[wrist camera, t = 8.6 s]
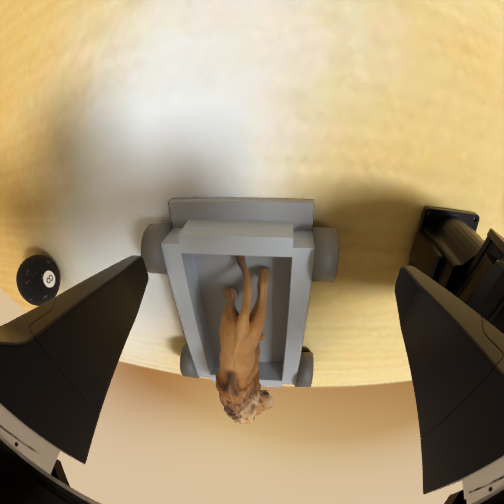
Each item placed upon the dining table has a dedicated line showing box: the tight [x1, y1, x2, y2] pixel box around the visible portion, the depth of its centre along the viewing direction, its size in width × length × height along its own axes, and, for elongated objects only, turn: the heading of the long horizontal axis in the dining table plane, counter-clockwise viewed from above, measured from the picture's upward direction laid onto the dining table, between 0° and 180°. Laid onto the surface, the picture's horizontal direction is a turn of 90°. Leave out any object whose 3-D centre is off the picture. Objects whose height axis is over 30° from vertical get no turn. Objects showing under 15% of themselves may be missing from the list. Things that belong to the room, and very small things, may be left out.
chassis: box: [141, 198, 339, 387], centre depth 24 cm, size 14×22×4 cm, turn 2°
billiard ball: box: [16, 255, 60, 306], centre depth 25 cm, size 6×6×6 cm
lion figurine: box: [216, 255, 274, 424], centre depth 22 cm, size 15×5×9 cm, turn 6°
